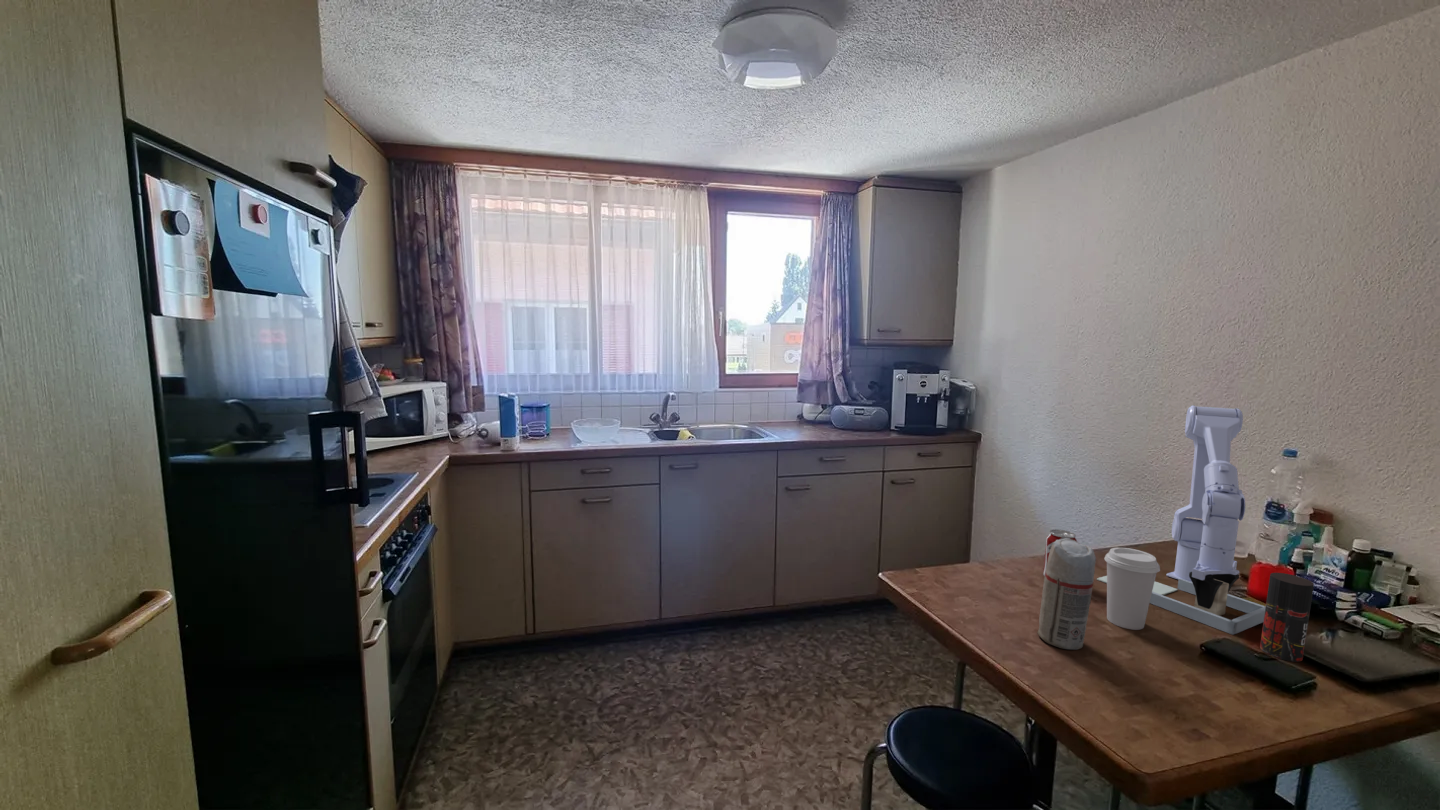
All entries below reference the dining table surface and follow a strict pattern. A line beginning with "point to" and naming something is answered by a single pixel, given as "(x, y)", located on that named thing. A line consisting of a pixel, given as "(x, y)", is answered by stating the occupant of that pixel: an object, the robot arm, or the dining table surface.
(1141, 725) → the dining table surface
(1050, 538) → the soda can
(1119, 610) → the coffee cup
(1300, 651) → the deodorant
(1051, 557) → the spray can
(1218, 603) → the block
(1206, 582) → the robot arm
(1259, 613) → the frame
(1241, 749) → the dining table surface
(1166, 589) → the pad
